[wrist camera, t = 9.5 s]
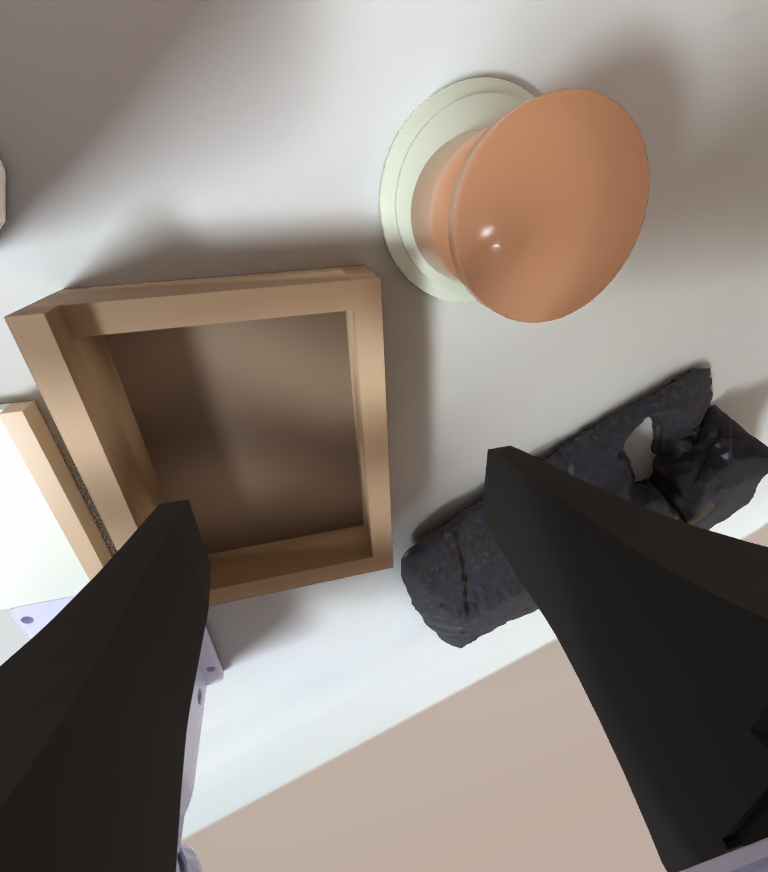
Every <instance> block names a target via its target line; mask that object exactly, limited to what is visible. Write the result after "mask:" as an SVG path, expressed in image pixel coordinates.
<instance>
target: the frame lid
mask: <svg viewBox="0 0 768 872" xmlns="http://www.w3.org/2000/svg"><path fill="white" fill-rule="evenodd" d="M111 558H112V556H111V554H110V551H109V549H108V547H107V545H106V543H105V541H104V539H103V537H102V535H101V533H100V531H99V529H98V527H97V525H96V523H95V521H94V519H93V517H92V515H91V513H90V511H89V509H88V507H87V505H86V503H85V501H84V499H83V497H82V495H81V493H80V491H79V489H78V487H77V485H76V483H75V481H74V479H73V477H72V475H71V473H70V471H69V469H68V467H67V465H66V463H65V461H64V459H63V457H62V455H61V453H60V451H59V449H58V447H57V445H56V443H55V441H54V439H53V437H52V435H51V433H50V431H49V429H48V427H47V425H46V423H45V421H44V419H43V417H42V415H41V413H40V411H39V409H38V407H37V405H36V403H35V401H34V400H32V401H24V402H16V403H8V404H0V610H3V609H8V608H13V607H18V606H23V605H29V604H34V603H39V602H44V601H49V600H54V599H59V598H64V597H70V596H75V595H77V594H78V593H79V592H80V591H81V590H82V589H83V588H84V587H85V586H86V585H87V584H88V583H89V582H90V581H91V580H92V579H93V578H94V577H95V576H96V574H97V573H98V572H99V571H100V570H101V569H102V568H103V567H104V566H105V565H106V564H107V562H108V561H109V560H110V559H111Z"/></svg>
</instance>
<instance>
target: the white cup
mask: <svg viewBox="0 0 768 872" xmlns="http://www.w3.org/2000/svg"><path fill="white" fill-rule="evenodd" d="M5 221H6V172H5V169H4V166H3V164H2V162H1V160H0V229H1V228H2V226H3V225H4V223H5Z"/></svg>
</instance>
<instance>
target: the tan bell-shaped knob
mask: <svg viewBox="0 0 768 872" xmlns="http://www.w3.org/2000/svg"><path fill="white" fill-rule="evenodd" d="M648 193H649V167H648V158H647V154H646V149H645V145H644V142H643V140H642V137H641V134H640V132H639V130H638V128H637V126H636V124H635V123H634V121H633V119H632V118H631V117H630V116H629V114H628V113H627V112H626V111H625V109H624V108H622V107H621V106H620V105H619V104H618V103H617V102H615V101H614V100H612V99H611V98H609V97H607V96H606V95H604V94H601V93H598V92H595V91H592V90H586V89H579V88H576V89H563V90H558V91H554V92H550V93H547V94H544V95H541V96H539V97H536V98H533V99H530V100H528V101H526V102H523V103H521V104H519V105H517V106H515V107H514V108H512V109H510V110H509V111H507V112H506V113H504V114H503V115H502V116H501V117H499V118H498V119H497V120H496V121H494V122H493V123H492V124H491V125H490V126H488V127H484V128H481V129H478V130H474V131H471V132H468V133H464V134H461V135H459V136H457V137H454V138H453V139H451V140H449V141H448V142H446V143H445V144H444V145H442V146H441V147H440V148H439V149H438V150H437V151H436V152H435V153H434V154H433V155H432V156H431V157H430V159H429V160H428V161H427V163H426V164H425V166H424V168H423V169H422V171H421V173H420V175H419V177H418V180H417V182H416V185H415V188H414V192H413V196H412V202H411V226H412V233H413V236H414V240H415V243H416V245H417V247H418V250H419V251H420V253H421V255H422V257H423V258H424V259H425V261H426V262H427V263H428V264H429V265H430V266H431V267H432V268H433V269H434V270H436V271H437V272H438V273H440V274H442V275H444V276H446V277H448V278H450V279H452V280H454V281H456V282H458V283H460V284H463V285H464V286H465V288H466V289H467V290H468V292H469V293H470V294H471V295H472V296H473V297H474V298H475V299H476V300H477V301H478V302H480V303H481V304H483V305H484V306H485V307H487V308H489V309H491V310H493V311H495V312H496V313H498V314H500V315H502V316H504V317H506V318H509V319H512V320H516V321H521V322H527V323H537V322H545V321H551V320H554V319H558V318H561V317H563V316H566V315H568V314H570V313H572V312H574V311H576V310H578V309H579V308H581V307H583V306H584V305H586V304H587V303H588V302H590V301H591V300H593V299H594V298H595V297H596V296H597V295H598V294H599V293H600V292H602V291H603V290H604V288H605V287H606V286H607V285H608V284H609V283H610V282H611V281H612V280H613V278H614V277H615V276H616V274H617V273H618V272H619V271H620V269H621V268H622V266H623V264H624V263H625V261H626V260H627V258H628V256H629V254H630V252H631V250H632V249H633V247H634V245H635V242H636V240H637V237H638V235H639V232H640V230H641V226H642V223H643V220H644V217H645V212H646V207H647V202H648Z"/></svg>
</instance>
